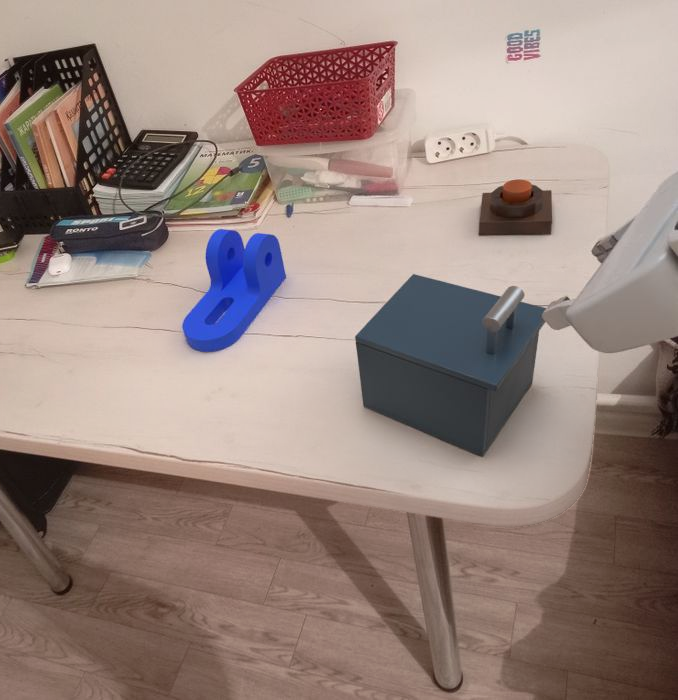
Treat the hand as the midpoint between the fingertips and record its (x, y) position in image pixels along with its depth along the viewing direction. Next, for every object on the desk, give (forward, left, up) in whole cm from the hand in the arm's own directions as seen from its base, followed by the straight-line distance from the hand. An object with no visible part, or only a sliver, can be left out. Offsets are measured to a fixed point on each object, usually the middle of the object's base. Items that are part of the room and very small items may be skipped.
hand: (575, 284), depth 50 cm
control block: (+4, -39, -18) cm, 43 cm away
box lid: (+10, -3, -9) cm, 13 cm away
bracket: (+40, -17, -18) cm, 47 cm away
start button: (+4, -39, -15) cm, 42 cm away
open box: (+10, -4, -18) cm, 21 cm away
